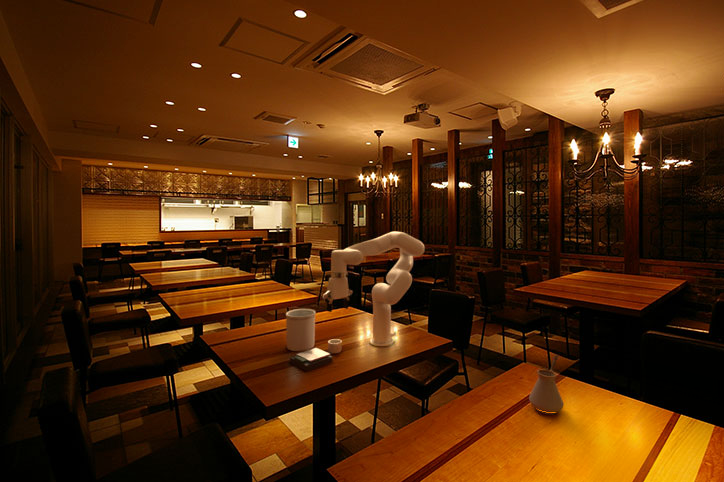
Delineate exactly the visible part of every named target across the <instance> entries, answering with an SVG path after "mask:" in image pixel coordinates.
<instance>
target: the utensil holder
mask: <svg viewBox="0 0 724 482" xmlns="http://www.w3.org/2000/svg"><path fill="white" fill-rule="evenodd" d="M285 323H286V325H285V327H286V349H287V350H289V351H292V352H304V351H308V350H311V349H313V348H315V340H316V339H315V337H316V310H315V309H311V308H297V309H292V310H288V311H287V312H286V313H285Z"/></svg>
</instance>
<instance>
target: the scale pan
mask: <svg viewBox="0 0 724 482" xmlns="http://www.w3.org/2000/svg"><path fill="white" fill-rule="evenodd" d="M295 356H299V357H301V358H303V359H305V360H307V361H308V362H313V361H316V360H319V359H321V358H324V357H327V356H331V353H329V352H328V351H324V350H323V349H320V348H318V347H313V348H311V349H308V350H304V351H300V352H299V353H296V354H295Z"/></svg>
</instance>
